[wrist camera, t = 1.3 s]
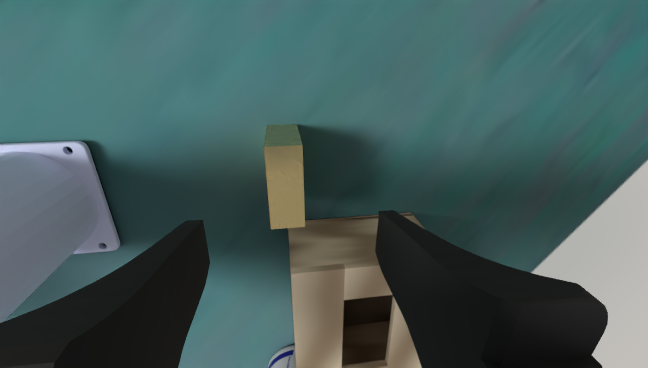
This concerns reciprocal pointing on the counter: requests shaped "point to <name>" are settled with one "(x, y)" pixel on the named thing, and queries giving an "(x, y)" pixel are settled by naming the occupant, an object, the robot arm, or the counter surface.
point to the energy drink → (284, 358)
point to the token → (284, 176)
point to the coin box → (345, 298)
